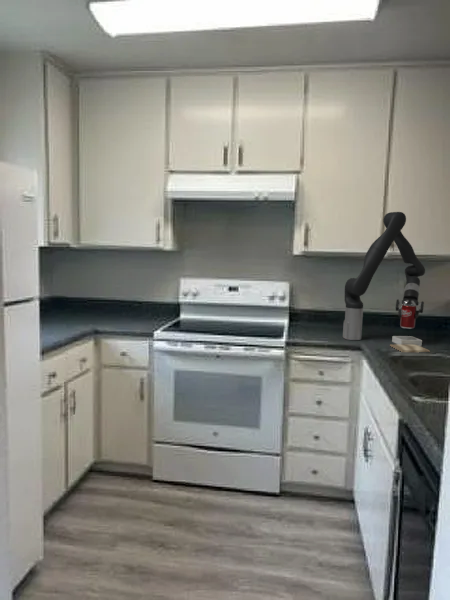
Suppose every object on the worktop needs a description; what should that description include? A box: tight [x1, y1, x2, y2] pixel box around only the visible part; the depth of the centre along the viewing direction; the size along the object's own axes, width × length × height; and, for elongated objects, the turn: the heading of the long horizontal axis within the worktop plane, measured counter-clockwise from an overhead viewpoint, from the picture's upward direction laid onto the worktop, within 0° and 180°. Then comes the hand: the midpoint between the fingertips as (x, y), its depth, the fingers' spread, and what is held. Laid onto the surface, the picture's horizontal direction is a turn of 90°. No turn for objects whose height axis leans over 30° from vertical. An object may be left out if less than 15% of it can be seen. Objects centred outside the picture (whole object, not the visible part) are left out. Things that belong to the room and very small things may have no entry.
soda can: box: [399, 304, 416, 330], centre depth 258 cm, size 7×7×12 cm
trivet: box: [389, 343, 431, 353], centre depth 245 cm, size 14×14×1 cm
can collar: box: [391, 335, 423, 347], centre depth 259 cm, size 11×11×3 cm
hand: (407, 317), depth 256 cm, fingers closed on soda can, 7 cm apart
